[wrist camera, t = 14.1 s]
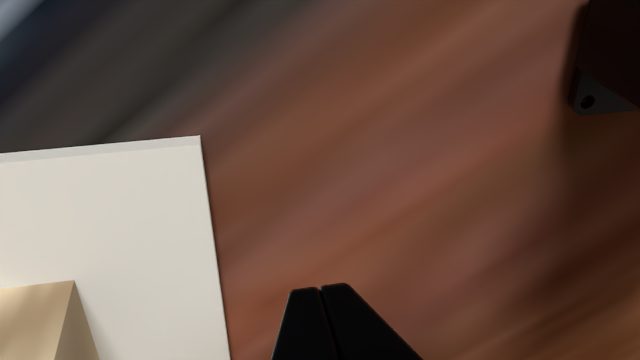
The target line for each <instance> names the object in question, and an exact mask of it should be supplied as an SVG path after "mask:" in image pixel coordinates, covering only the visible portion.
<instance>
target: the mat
mask: <svg viewBox="0 0 640 360" xmlns="http://www.w3.org/2000/svg"><path fill="white" fill-rule="evenodd" d="M69 280H74V281H75V284H76V287H77V290H78V294H79V297H80V300H81V303H82V306H83V309H84V312H85V315H86V319H87V322H88V325H89V328H90V331H91V334H92V337H93V340H94V344H95V347H96V350H97V353H98V356H99V359H100V360H231V358H230V351H229V343H228V336H227V329H226V321H225V314H224V307H223V300H222V292H221V285H220V278H219V270H218V263H217V256H216V248H215V241H214V234H213V227H212V219H211V212H210V205H209V197H208V190H207V183H206V175H205V168H204V161H203V154H202V146H201V139H200V135H199V136H188V137H177V138H166V139H155V140H144V141H133V142H122V143H111V144H100V145H89V146H78V147H67V148H56V149H45V150H34V151H24V152H13V153H2V154H0V289H3V288H12V287H20V286H28V285H36V284H44V283H53V282H61V281H69Z"/></svg>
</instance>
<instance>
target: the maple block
mask: <svg viewBox="0 0 640 360" xmlns="http://www.w3.org/2000/svg"><path fill="white" fill-rule="evenodd" d="M0 360H100V359H99V356H98V353H97V350H96V347H95V344H94V340H93V337H92V334H91V331H90V328H89V325H88V322H87V319H86V315H85V312H84V309H83V306H82V303H81V300H80V297H79V294H78V290H77V287H76V284H75V281H74V280H69V281H61V282H53V283H44V284H36V285H28V286H20V287H12V288H3V289H0Z"/></svg>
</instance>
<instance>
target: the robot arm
mask: <svg viewBox="0 0 640 360" xmlns="http://www.w3.org/2000/svg"><path fill="white" fill-rule="evenodd" d="M576 64H577V65H576V69H575V73H574V77H573V81H572V85H571V89H570V93H569V97H568V104H569V107H570V108H571V109H573V110H574V111H575V112H576V113H578V114H579V115H590V114H600V113H611V112H621V111H632V110H638V111H639V112H640V0H591V3H590V7H589V11H588V15H587V19H586V23H585V27H584V31H583V35H582V39H581V43H580V47H579V51H578V55H577V59H576ZM586 96H588V98H587V100H586V101H585V102H583V103H581V101H582V99H583V98H585V97H586ZM271 360H423V359H422V358H421V357H420V356H419V355H418V354H417V353H416V352H415V351H414V350H413V349H412V348H411V347H410V346H409V345H408V344H407V343H406V342H405V341H404V340H403V339H402V338H401V337H400V336H399V335H398V334H397V333H396V332H395V331H394V330H393V329H392V328H391V327H390V326H389V325H388V324H387V323H386V322H385V321H384V320H383V319H382V318H381V317H380V316H379V315H378V314H377V313H376V312H375V311H374V310H373V309H372V308H371V306H370V305H369V304H368V303H367V302H366V301H365V300H364V299H363V298H362V297H361V296H360V295H359V294H358V293H357V292H356V291H355V290H354V289H353V288H352V287H351V286H350V285H348V284H346V283H338V284H330V285H323V286H321V287H320V289H319V290H318V288H316V287H308V288H300V289H294V290H292V291H291V292H290V293H289V296H288V299H287V303H286V307H285V310H284V314H283V317H282V321H281V324H280V328H279V332H278V335H277V339H276V342H275V346H274V349H273V353H272V356H271Z"/></svg>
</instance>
